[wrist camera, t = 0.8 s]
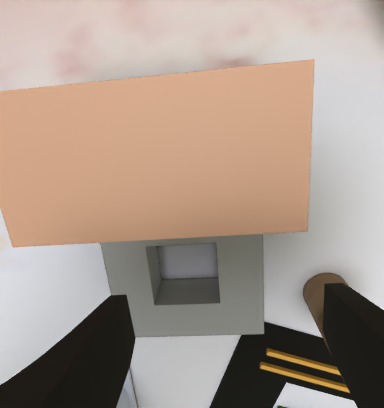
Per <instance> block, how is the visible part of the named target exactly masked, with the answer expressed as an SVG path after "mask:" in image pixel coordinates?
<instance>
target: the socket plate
mask: <svg viewBox="0 0 384 408" xmlns="http://www.w3.org/2000/svg"><path fill="white" fill-rule="evenodd" d="M203 243H216V246H217V261H218V276H219V278H198V279H174V280H161V273H160V266H159V259H158V252H157V246H165V245H184V244H203ZM100 244H101V249H102V253H103V258H104V263H105V268H106V273H107V277H108V282H109V287H110V292H111V295H127V300H128V304H129V309H130V314H131V319H132V324H133V328H134V333H135V337H167V336H206V335H245V334H264V281H263V234H249V235H230V236H212V237H193V238H175V239H157V240H138V241H120V242H101V243H100Z"/></svg>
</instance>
